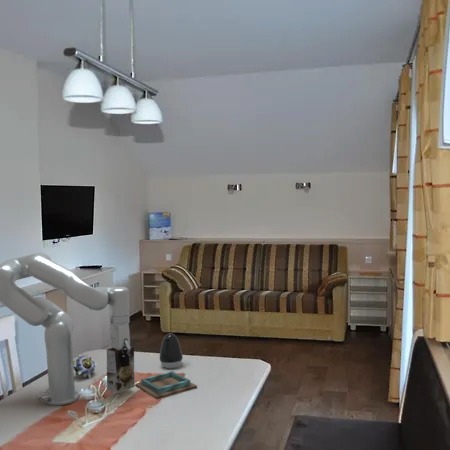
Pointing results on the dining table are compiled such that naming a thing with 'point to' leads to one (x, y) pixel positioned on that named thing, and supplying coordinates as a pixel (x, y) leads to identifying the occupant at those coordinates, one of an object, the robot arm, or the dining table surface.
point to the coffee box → (119, 371)
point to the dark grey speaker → (170, 352)
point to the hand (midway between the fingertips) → (120, 363)
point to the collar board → (165, 385)
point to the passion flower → (84, 366)
